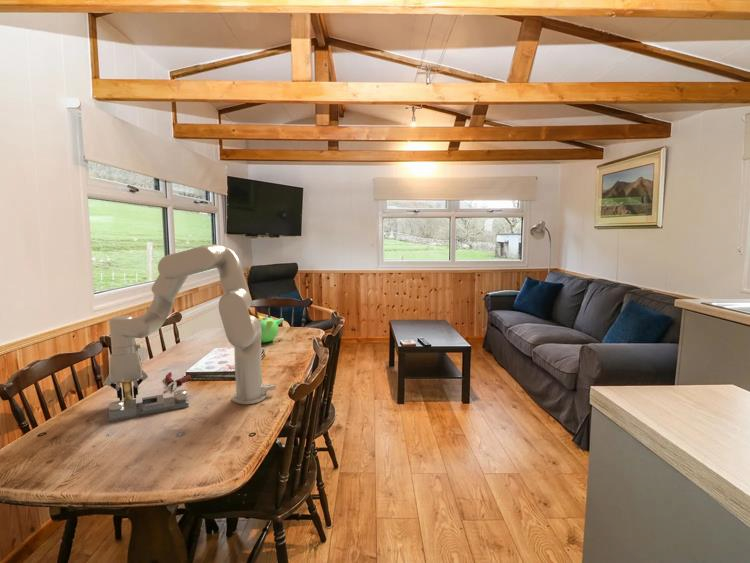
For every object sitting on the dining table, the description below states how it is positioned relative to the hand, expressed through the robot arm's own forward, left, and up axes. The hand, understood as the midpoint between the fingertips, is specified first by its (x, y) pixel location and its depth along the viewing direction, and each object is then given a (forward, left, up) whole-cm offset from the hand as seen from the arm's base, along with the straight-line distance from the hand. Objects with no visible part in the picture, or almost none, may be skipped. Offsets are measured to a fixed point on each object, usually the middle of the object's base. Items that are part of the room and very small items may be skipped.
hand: (128, 397), depth 153 cm
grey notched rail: (-7, +11, -2) cm, 13 cm away
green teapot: (-65, -57, -2) cm, 86 cm away
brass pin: (0, 0, -2) cm, 2 cm away
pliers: (-16, -13, -3) cm, 21 cm away
